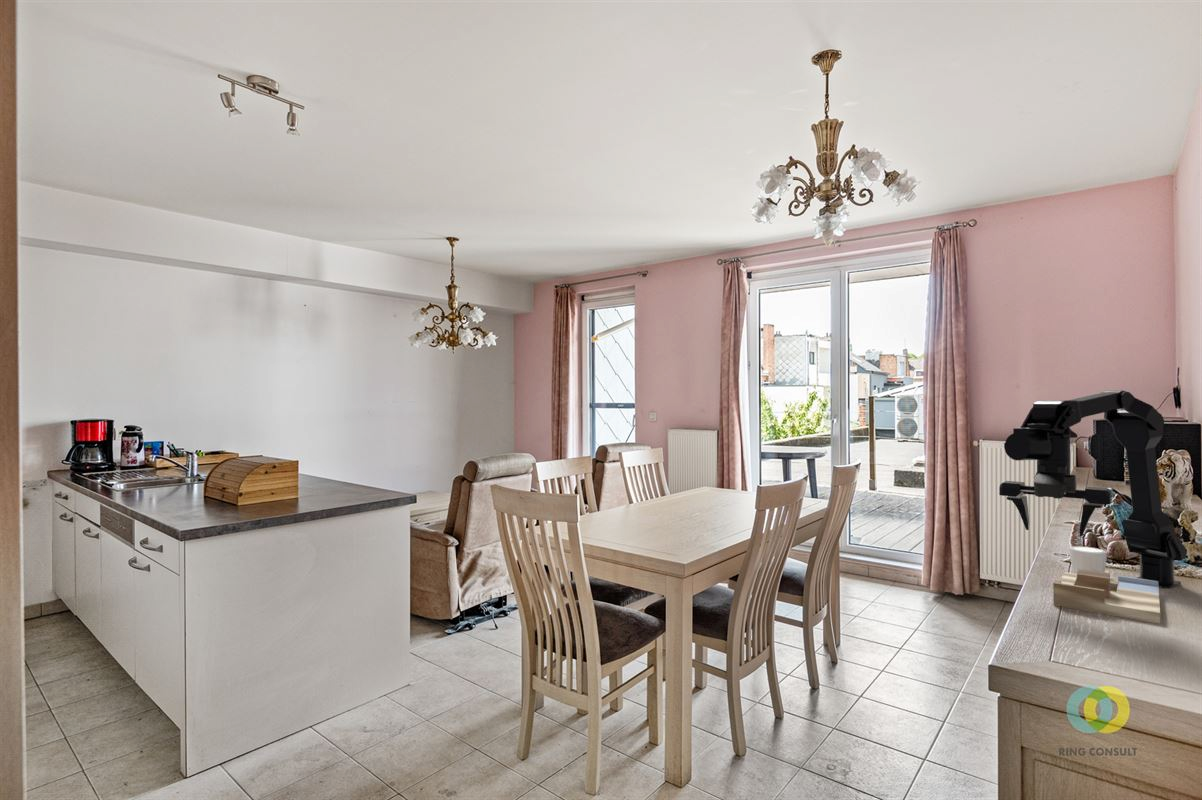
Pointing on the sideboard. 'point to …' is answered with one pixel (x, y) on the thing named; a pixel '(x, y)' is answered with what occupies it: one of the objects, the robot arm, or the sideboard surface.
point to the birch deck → (1106, 599)
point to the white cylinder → (1087, 559)
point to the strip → (1138, 584)
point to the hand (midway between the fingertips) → (1053, 532)
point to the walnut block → (1094, 580)
